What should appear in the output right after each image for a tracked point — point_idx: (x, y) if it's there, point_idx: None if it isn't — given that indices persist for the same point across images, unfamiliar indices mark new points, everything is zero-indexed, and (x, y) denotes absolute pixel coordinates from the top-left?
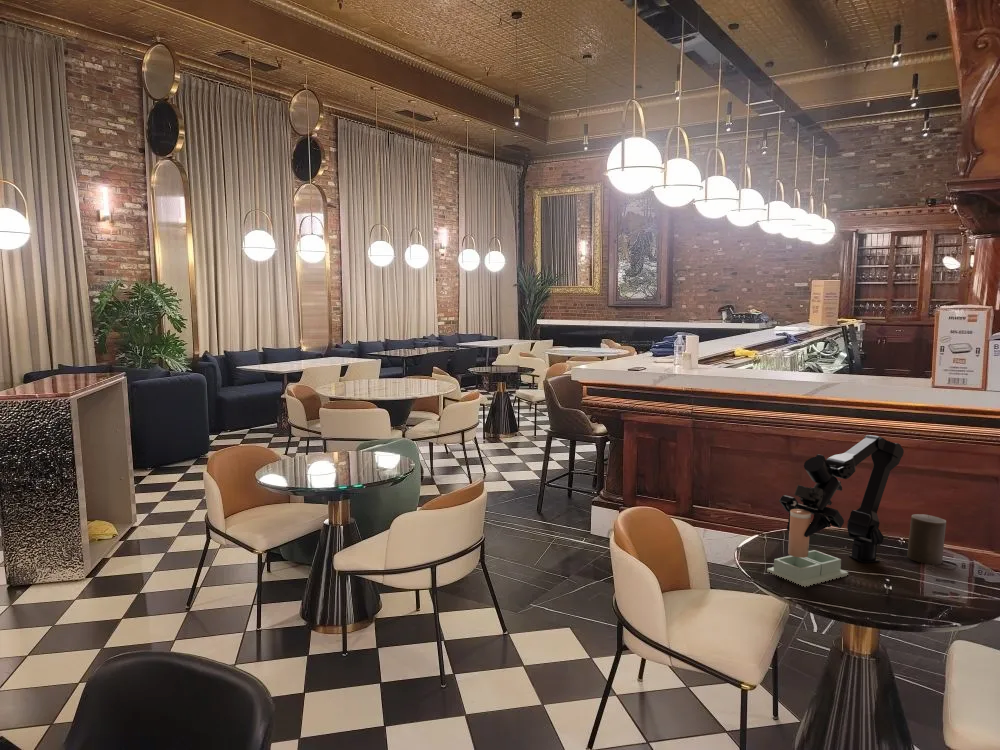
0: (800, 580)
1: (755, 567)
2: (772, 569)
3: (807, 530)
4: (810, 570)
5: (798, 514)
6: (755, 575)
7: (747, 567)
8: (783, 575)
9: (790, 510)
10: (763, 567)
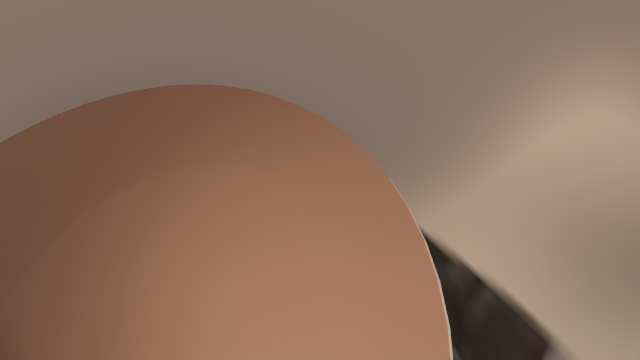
0: None
1: (482, 321)
2: None
3: None
4: None
5: (159, 98)
6: (421, 231)
7: (500, 291)
8: None
9: (409, 213)
10: (464, 355)
